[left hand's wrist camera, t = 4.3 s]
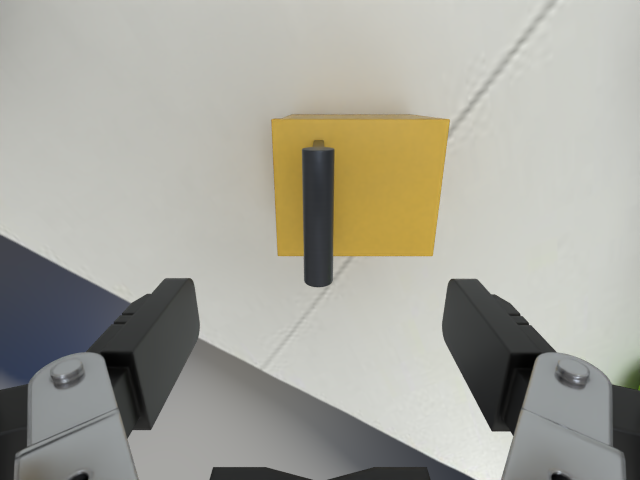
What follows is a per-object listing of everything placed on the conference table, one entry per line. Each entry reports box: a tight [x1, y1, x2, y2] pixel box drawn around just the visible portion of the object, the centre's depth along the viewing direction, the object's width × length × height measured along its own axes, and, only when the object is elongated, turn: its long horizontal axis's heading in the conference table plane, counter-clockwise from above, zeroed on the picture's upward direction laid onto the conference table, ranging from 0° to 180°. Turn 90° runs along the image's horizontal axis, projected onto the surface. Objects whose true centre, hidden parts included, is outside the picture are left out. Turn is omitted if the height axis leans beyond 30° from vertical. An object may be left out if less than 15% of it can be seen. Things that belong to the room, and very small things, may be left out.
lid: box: [271, 119, 450, 287], centre depth 23 cm, size 12×10×8 cm
